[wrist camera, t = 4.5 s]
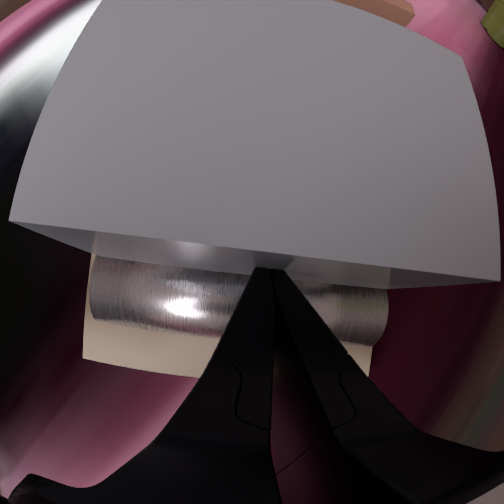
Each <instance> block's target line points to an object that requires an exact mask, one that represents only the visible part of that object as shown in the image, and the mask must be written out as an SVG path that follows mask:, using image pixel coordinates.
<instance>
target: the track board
mask: <svg viewBox="0 0 504 504" xmlns="http://www.w3.org/2000/svg"><path fill="white" fill-rule="evenodd" d="M95 257H96V255H95V254H93V253H92V257H91V264H90V271H89V279H88V288H87V298H86V309H85V322H84V339H83V358H84V359H88V360H93V361H98V362H102V363H107V364H112V365H117V366H123V367H128V368H134V369H140V370H146V371H152V372H159V373H166V374H173V375H181V376H189V377H197V378H200V377H201V375H202V373H203V372H204V370H205V368H206V366H207V364H208V362H209V361H210V359H211V357H212V355H213V352H214V350H215V348H216V347H217V345H218V342H219V340H220V339H213V338H204V337H195V336H187V335H179V334H172V333H164V332H157V331H150V330H144V329H137V328H131V327H125V326H119V325H113V324H108V323H102V322H97V321H96V320H95V319H94V318H93V316H92V314H91V310H90V305H89V282H90V275H91V270H92V266H93V263H94V260H95ZM372 347H373V346H370V347H345V349H346V350H347V351H348V354H350V355H351V356H352V358H353V359H354V360H355V362H356V363H357V364H358V365H359V367H360V368H361V369H362V370H363V372H364V373H365V374H366V375H367V377H368V375H369V368H370V362H371V354H372Z"/></svg>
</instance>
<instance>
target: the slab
mask: <svg viewBox="0 0 504 504" xmlns="http://www.w3.org/2000/svg"><path fill="white" fill-rule="evenodd" d="M9 221H11V222H13V223H16V224H18V225H21V226H23V227H25V228H28V229H30V230H33V231H35V232H38V233H40V234H43V235H45V236H48V237H50V238H53V239H56V240H58V241H61V242H63V243H66V244H69V245H71V246H74V247H77V248H79V249H82V250H85V251H87V252H90V253H93V254H95V255H98V256H101V257H108V258H116V259H123V260H130V261H138V262H145V263H153V264H161V265H168V266H176V267H184V268H192V269H201V270H209V271H217V272H226V273H234V274H243V275H251V273H252V271H253V269H254V268H255V267H263V268H268V269H280V270H284V271H285V272H286V273H287V274H288V276H289V277H290V278H291V279H292V280H298V281H308V282H318V283H328V284H338V285H349V286H359V287H370V288H381V289H394V288H413V287H430V286H445V285H459V284H473V283H485V282H496V281H500V234H499V220H498V209H497V199H496V191H495V184H494V177H493V171H492V165H491V159H490V154H489V149H488V144H487V140H486V135H485V131H484V127H483V123H482V119H481V115H480V111H479V108H478V104H477V101H476V97H475V94H474V91H473V88H472V85H471V82H470V79H469V76H468V73H467V70H466V67H465V65H464V62H463V59H462V57H461V56H459V55H457V54H456V53H454V52H452V51H450V50H449V49H447V48H445V47H443V46H441V45H440V44H438V43H436V42H434V41H432V40H430V39H428V38H426V37H424V36H422V35H420V34H418V33H416V32H414V31H412V30H410V29H407V28H405V27H403V26H401V25H399V24H396V23H394V22H392V21H389V20H387V19H384V18H382V17H379V16H377V15H374V14H372V13H369V12H366V11H363V10H361V9H358V8H355V7H352V6H349V5H346V4H343V3H340V2H336V1H333V0H102V1H101V3H100V4H99V6H98V7H97V9H96V10H95V12H94V13H93V15H92V16H91V18H90V19H89V21H88V23H87V24H86V26H85V27H84V29H83V31H82V32H81V34H80V36H79V37H78V39H77V41H76V43H75V44H74V46H73V48H72V50H71V51H70V53H69V55H68V57H67V59H66V61H65V63H64V65H63V66H62V68H61V70H60V72H59V74H58V76H57V79H56V81H55V83H54V85H53V87H52V89H51V91H50V94H49V96H48V98H47V100H46V103H45V105H44V107H43V110H42V112H41V115H40V117H39V120H38V122H37V125H36V127H35V130H34V133H33V136H32V138H31V141H30V144H29V147H28V150H27V153H26V156H25V159H24V163H23V166H22V169H21V173H20V176H19V180H18V183H17V187H16V191H15V195H14V199H13V203H12V208H11V212H10V217H9Z"/></svg>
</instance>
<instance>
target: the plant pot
mask: <svg viewBox="0 0 504 504" xmlns="http://www.w3.org/2000/svg"><path fill="white" fill-rule="evenodd" d="M481 23H482V25H483V27H484V28H486V29H487V32H488V34H489V35H490V37H491V38H492V39H493V40H494V41H495V42H496V43H497V44H498V45H499V46H501V47H503V48H504V0H495V2H494V3H493V5H492V6H491V8H490V9H489V11H488V12H487V14H486V15H485V16H484V18H483V19H482V21H481Z"/></svg>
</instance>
